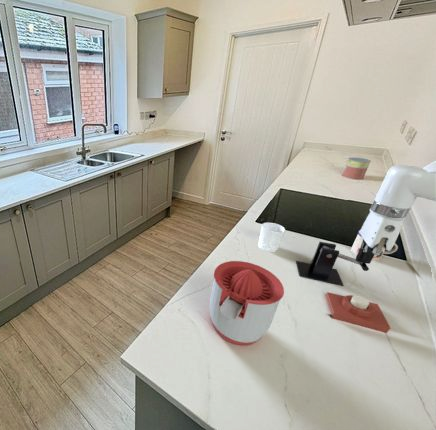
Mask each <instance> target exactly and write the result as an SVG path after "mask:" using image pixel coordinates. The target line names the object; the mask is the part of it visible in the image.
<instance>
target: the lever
mask: <svg viewBox="0 0 436 430" xmlns="http://www.w3.org/2000/svg"><path fill="white" fill-rule="evenodd" d="M322 248H327V249H332V250H334V249H333V248H331V247H328V246H325V245H324V246H323V247H322ZM322 248H321V249H322ZM320 251H321V250H320ZM337 258H339V259H341V260H344V261H348V262H351V263H353V264H356V265H358V266H360V267H361V269H362V271H364V272H368V271H370V268H369V266H368V265H367V263H362V262H358V261H357V260H356V258H354V257H351V256H348V255H345V254H342V253H340V252H339V255H338V257H337Z"/></svg>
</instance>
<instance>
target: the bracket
mask: <svg viewBox="0 0 436 430" xmlns="http://www.w3.org/2000/svg"><path fill="white" fill-rule="evenodd" d="M324 245H325V246H328V247H331V248H333V249H334V250H332V249H327V248H322V247H323V246H324ZM336 247H337V244H335V243H329V242H325V241H319V242H318V244H317V246H316V249H315V252H314V254H313V257H312V260H311V262H310V263H309V262H305V261H299V260H296V261H295V264H296V267H297V271H298V276H299V277H300V278H305V279H308V280H314V281H319V282H322V283H327V284H332V285H335V286H340V287H344V285H345V284H344V283H343V281H342V278H341V276H340V274H339V271H338V269H337V268H334V266H335V263H336V261H337V259H338V258H339V257H338V255H339V253H340V250H337V249H336ZM321 248H322V249H321ZM320 250H321V251H320Z"/></svg>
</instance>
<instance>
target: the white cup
mask: <svg viewBox="0 0 436 430" xmlns="http://www.w3.org/2000/svg"><path fill="white" fill-rule="evenodd" d="M285 233H286V228H285V227H284V226H283V225H281V224H278V223H275V222H263V223H262V224H261V227H260V232H259V236H258V237H259V238H258V243H257V246H258V248H259V249H260V250H263V251H265V252H268V253H275V252H277V251H278V249H279V247H280V245H281V242H282V240H283V237H284V235H285Z"/></svg>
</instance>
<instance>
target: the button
mask: <svg viewBox="0 0 436 430" xmlns="http://www.w3.org/2000/svg"><path fill="white" fill-rule="evenodd" d="M369 302H370V301H369V300H368V299H367V298H364V297H363V296H360V295H353V297H352V299H351V301H350V303H351V304H352V305H353V306H355V307H357V308H360V309H367V307H368V305H369Z"/></svg>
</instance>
